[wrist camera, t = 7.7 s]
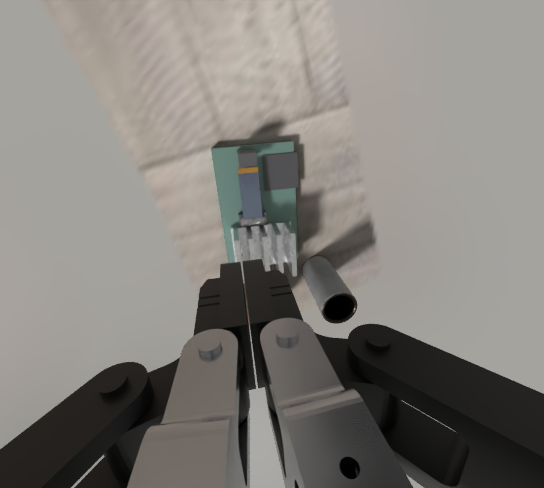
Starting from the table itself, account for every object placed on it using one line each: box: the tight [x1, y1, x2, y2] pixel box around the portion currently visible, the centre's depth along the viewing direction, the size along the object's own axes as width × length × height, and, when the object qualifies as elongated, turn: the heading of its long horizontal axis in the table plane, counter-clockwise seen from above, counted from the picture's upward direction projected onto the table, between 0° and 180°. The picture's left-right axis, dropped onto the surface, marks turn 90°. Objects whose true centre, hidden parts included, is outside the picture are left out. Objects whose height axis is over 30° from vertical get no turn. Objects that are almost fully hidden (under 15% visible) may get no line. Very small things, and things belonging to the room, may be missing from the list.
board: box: [211, 141, 299, 263], centre depth 39 cm, size 16×10×1 cm, turn 4°
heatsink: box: [231, 210, 297, 284], centre depth 38 cm, size 8×8×5 cm
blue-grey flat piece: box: [237, 166, 267, 227], centre depth 36 cm, size 7×3×1 cm, turn 4°
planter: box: [302, 256, 357, 323], centre depth 41 cm, size 4×4×10 cm
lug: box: [237, 149, 257, 168], centre depth 34 cm, size 2×2×4 cm
